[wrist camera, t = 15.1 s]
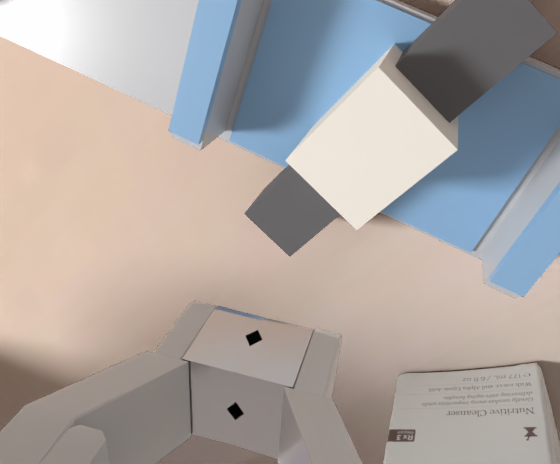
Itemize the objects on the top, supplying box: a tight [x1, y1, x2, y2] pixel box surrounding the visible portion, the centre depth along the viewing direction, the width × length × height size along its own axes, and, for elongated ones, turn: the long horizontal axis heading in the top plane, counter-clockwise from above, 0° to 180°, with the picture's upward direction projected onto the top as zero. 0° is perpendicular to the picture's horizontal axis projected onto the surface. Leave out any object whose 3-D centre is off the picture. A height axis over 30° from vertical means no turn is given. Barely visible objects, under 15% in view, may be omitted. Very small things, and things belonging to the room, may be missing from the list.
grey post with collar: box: [244, 0, 558, 256], centre depth 21 cm, size 14×4×5 cm, turn 139°
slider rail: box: [0, 0, 560, 299], centre depth 23 cm, size 9×32×4 cm, turn 71°
